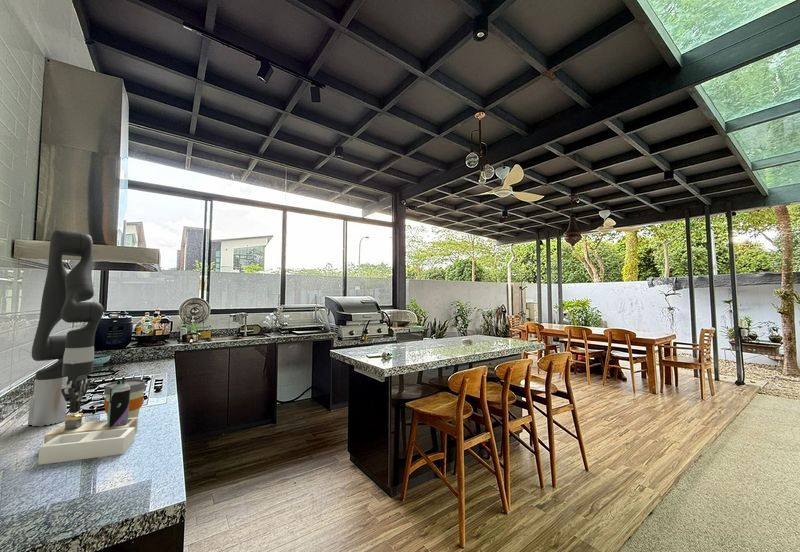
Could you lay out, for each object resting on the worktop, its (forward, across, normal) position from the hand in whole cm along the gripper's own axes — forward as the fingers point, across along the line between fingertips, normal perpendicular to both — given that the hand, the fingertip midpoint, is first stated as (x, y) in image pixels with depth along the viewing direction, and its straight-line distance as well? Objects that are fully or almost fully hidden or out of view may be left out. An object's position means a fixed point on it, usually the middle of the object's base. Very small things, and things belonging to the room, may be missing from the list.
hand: (74, 412), depth 110 cm
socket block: (+10, 0, +6) cm, 12 cm away
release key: (+7, 0, 0) cm, 7 cm away
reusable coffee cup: (+10, -17, +8) cm, 21 cm away
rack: (+10, +10, +9) cm, 17 cm away
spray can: (+10, 0, +12) cm, 16 cm away
